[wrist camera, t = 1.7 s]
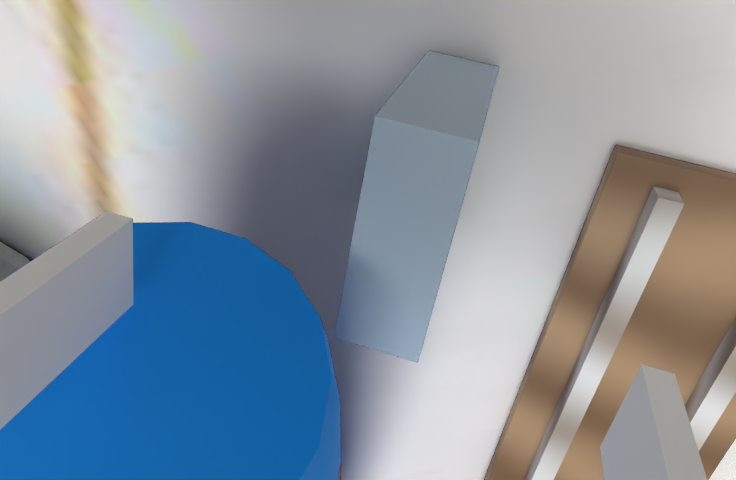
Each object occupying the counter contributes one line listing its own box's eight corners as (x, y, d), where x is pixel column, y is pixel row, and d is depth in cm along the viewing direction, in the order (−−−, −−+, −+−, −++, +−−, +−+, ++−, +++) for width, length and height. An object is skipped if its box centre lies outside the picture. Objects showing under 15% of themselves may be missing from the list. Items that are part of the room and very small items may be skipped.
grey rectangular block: (428, 50, 26) (374, 115, 18) (499, 66, 26) (479, 142, 17) (392, 216, 30) (333, 337, 21) (453, 233, 30) (418, 362, 21)
